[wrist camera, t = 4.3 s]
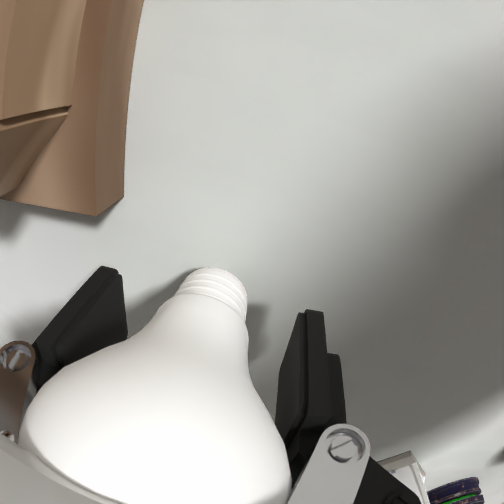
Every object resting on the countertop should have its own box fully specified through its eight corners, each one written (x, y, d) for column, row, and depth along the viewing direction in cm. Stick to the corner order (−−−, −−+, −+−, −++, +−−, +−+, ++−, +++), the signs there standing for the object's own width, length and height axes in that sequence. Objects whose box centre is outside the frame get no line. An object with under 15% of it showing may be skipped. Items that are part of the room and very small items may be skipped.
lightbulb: (226, 176, 10) (-3, 561, 1) (327, 300, 12) (339, 611, 3) (119, 267, 13) (-36, 492, 3) (214, 358, 15) (152, 585, 5)
